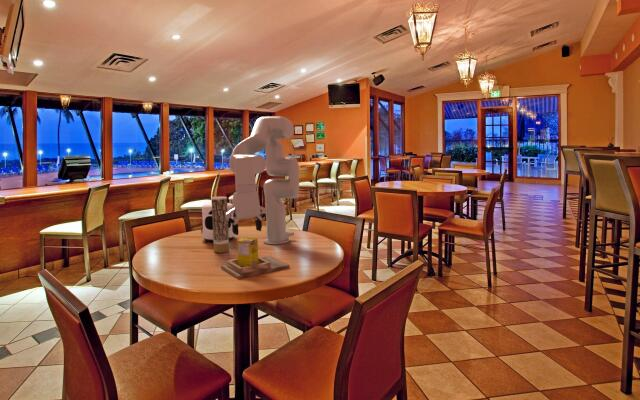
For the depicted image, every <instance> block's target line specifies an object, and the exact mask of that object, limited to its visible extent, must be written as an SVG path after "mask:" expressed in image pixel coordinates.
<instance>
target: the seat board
mask: <svg viewBox="0 0 640 400" xmlns="http://www.w3.org/2000/svg"><path fill="white" fill-rule="evenodd" d="M225 263H226V264H222V265H220V268H221V269H222V270H223V271H225V272H226V273H227V274H229V275H231V276H233V277H234V278H236V279H237V280H241V279H245V278H249V277H253V276H258V275H262V274H267V273H272V272H276V271H277V272H278V271H280V270H284V269H290V264H288V263H286V262H284V261H282V260H279V259H278V258H276V257H273V256H272V255H268V256H262V257H261V256H258V264H256V265H251V266H246V267H240V266H238V258H233V259H227V260H225Z"/></svg>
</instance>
